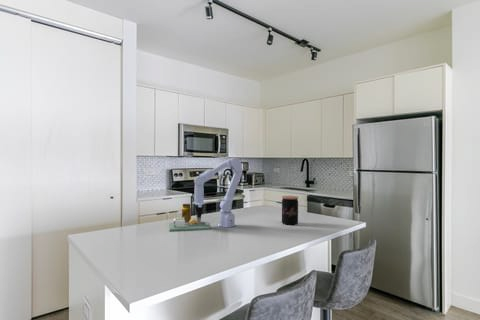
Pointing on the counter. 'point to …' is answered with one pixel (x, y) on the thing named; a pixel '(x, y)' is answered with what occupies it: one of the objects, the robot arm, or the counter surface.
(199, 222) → the grey and tan mallet
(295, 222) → the coffee jar
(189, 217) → the condiment
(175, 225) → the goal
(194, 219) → the ball
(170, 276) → the counter surface
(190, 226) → the pitch
